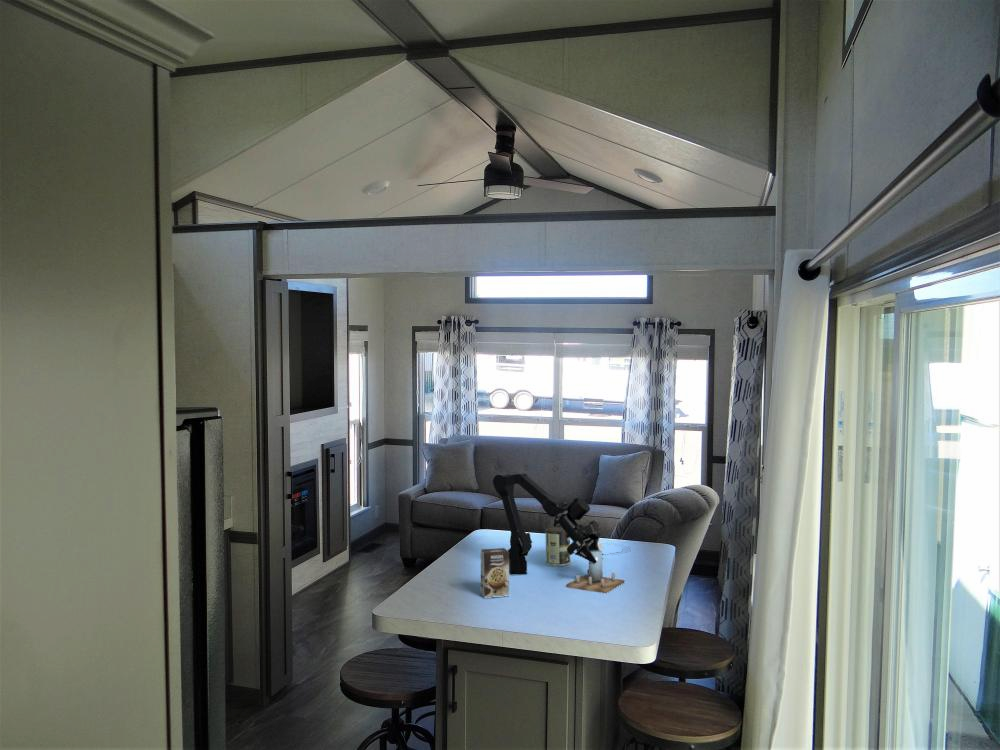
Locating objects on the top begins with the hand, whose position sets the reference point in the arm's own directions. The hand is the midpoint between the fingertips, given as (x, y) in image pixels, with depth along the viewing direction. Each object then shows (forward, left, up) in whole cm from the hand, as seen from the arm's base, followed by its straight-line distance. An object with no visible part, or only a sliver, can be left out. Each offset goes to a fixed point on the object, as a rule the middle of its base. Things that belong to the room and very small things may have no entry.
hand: (598, 561), depth 294 cm
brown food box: (-40, -3, -9) cm, 41 cm away
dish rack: (-1, +1, -9) cm, 9 cm away
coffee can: (-5, +36, -9) cm, 37 cm away
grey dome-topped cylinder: (-1, +1, -7) cm, 7 cm away
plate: (+20, +55, -9) cm, 59 cm away
